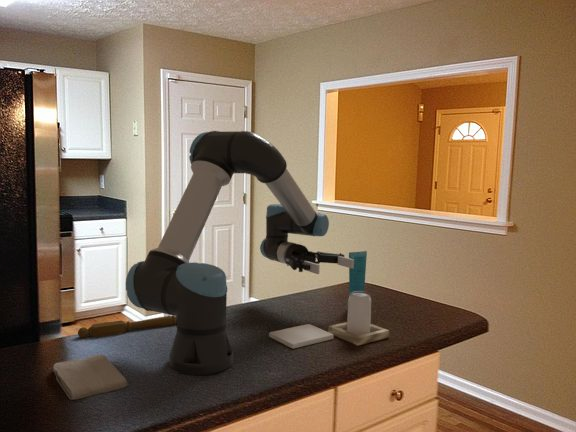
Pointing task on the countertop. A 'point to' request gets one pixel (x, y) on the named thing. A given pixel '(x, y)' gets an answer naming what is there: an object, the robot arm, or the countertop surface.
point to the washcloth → (88, 376)
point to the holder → (374, 335)
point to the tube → (357, 271)
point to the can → (359, 313)
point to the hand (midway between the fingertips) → (336, 266)
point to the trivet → (301, 336)
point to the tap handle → (124, 326)
